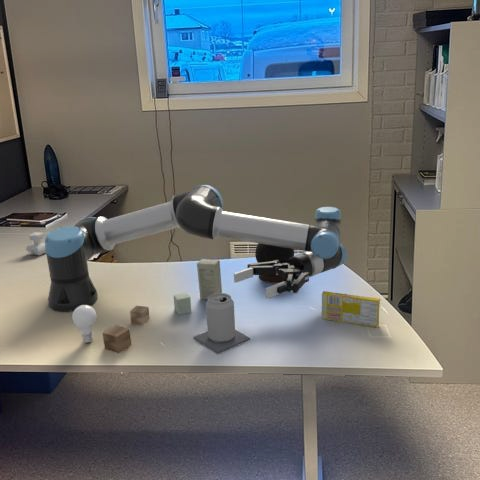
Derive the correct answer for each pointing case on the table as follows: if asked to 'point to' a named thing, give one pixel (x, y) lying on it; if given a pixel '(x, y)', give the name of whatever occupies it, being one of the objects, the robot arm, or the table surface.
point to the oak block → (139, 315)
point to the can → (220, 317)
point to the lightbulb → (85, 321)
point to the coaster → (221, 347)
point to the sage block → (182, 303)
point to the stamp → (36, 244)
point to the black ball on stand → (272, 259)
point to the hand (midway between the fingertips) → (250, 285)
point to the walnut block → (117, 338)
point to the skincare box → (209, 277)
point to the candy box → (350, 309)
